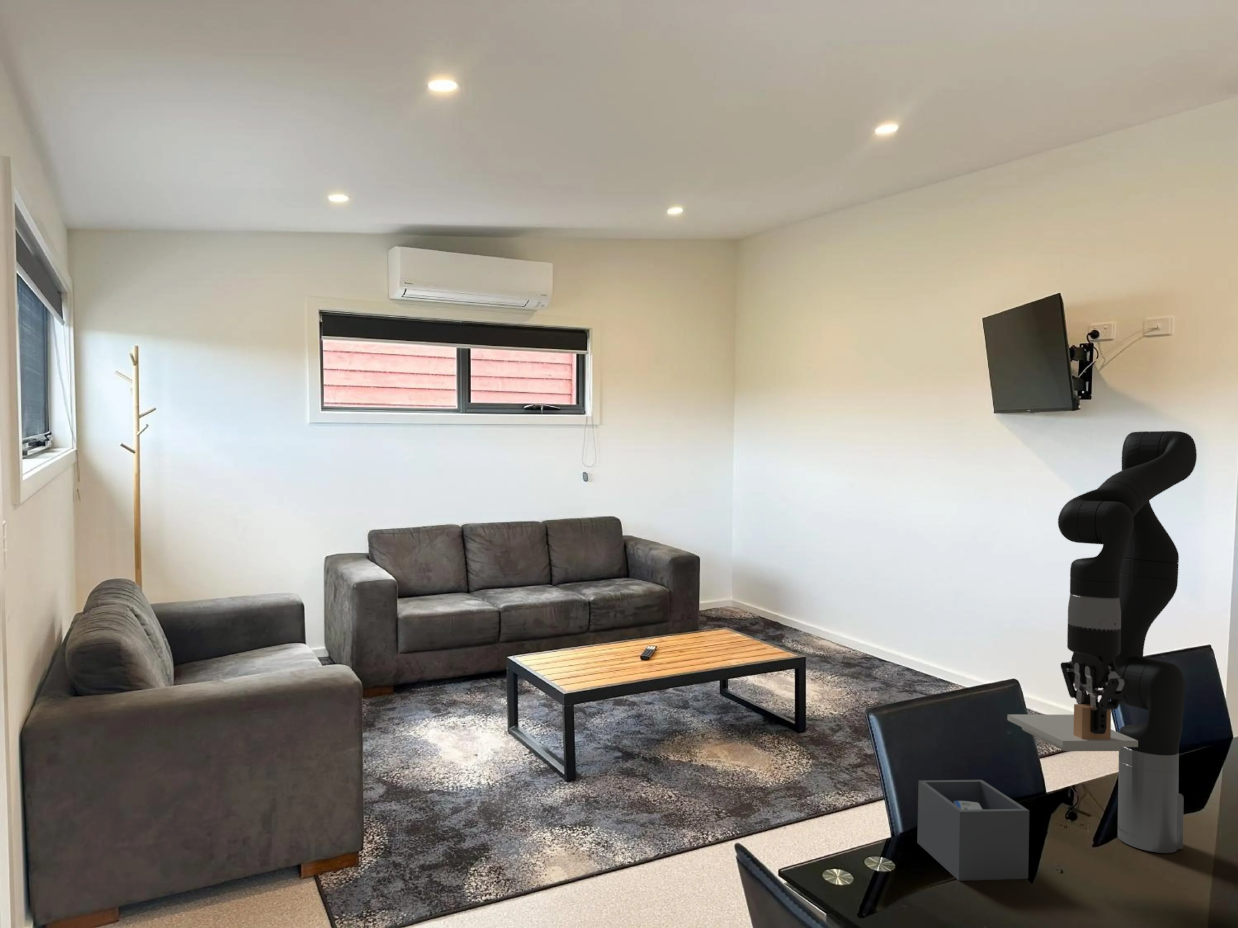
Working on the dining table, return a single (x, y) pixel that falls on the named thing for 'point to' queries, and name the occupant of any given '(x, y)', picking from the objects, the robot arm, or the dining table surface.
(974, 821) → the tub
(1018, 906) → the dining table surface
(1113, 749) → the lid
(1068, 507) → the robot arm
